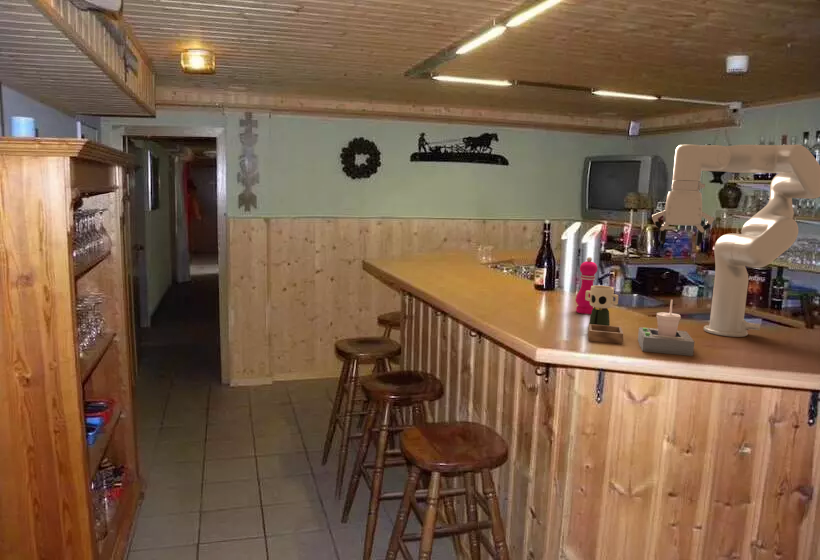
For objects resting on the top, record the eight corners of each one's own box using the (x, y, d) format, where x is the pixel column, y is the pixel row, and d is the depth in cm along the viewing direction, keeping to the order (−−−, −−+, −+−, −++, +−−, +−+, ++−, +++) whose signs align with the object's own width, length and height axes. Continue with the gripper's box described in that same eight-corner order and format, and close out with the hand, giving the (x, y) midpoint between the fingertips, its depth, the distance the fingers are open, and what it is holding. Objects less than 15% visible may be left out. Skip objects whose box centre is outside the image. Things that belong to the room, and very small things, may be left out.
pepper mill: (573, 313, 224) (577, 257, 221) (576, 309, 231) (580, 255, 228) (594, 315, 222) (599, 258, 218) (596, 311, 228) (601, 256, 225)
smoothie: (666, 351, 175) (671, 302, 173) (648, 346, 180) (652, 298, 178) (682, 349, 178) (687, 300, 176) (664, 344, 183) (668, 296, 181)
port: (684, 344, 184) (686, 329, 183) (692, 356, 171) (694, 339, 170) (637, 340, 187) (639, 325, 186) (642, 351, 174) (643, 335, 174)
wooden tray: (620, 336, 191) (620, 326, 191) (622, 343, 182) (623, 333, 182) (587, 333, 193) (588, 323, 193) (588, 340, 184) (589, 330, 184)
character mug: (578, 325, 204) (581, 285, 202) (587, 322, 209) (591, 283, 207) (611, 331, 197) (614, 290, 195) (619, 328, 202) (623, 288, 200)
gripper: (714, 188, 189) (708, 245, 191) (653, 186, 193) (648, 242, 196) (720, 188, 182) (713, 247, 184) (656, 186, 186) (650, 244, 188)
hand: (679, 244), depth 190 cm, fingers open, 9 cm apart
